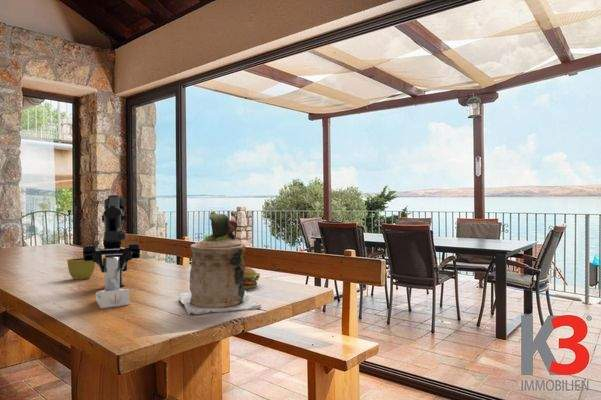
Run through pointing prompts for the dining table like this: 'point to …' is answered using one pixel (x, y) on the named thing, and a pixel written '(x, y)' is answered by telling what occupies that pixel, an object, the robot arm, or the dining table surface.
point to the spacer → (112, 273)
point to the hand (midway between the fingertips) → (111, 271)
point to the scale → (113, 298)
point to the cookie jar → (218, 272)
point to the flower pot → (80, 268)
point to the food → (250, 278)
